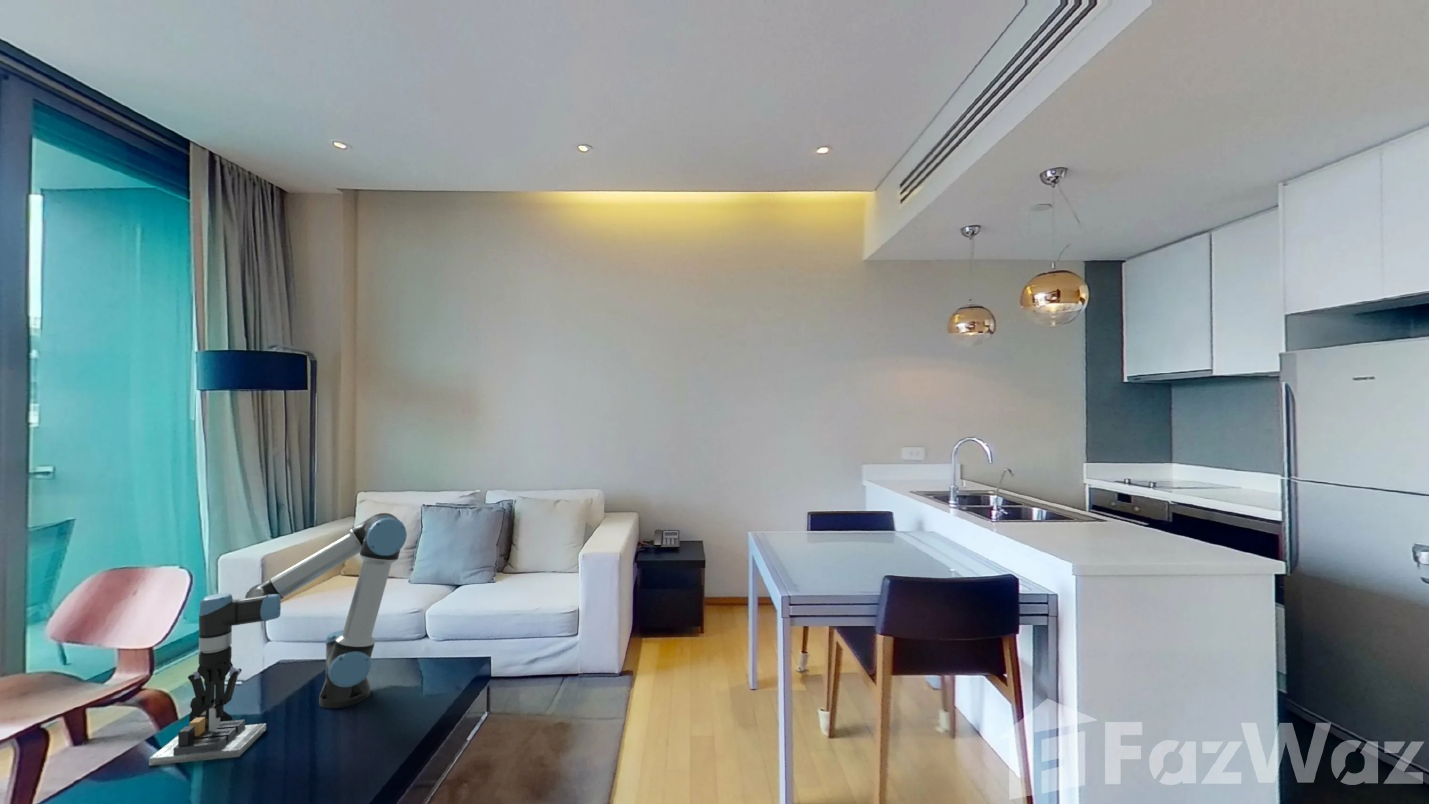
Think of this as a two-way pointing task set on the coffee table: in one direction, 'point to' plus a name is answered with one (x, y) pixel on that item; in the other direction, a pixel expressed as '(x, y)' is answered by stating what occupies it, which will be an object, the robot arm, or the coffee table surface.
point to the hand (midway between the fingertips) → (214, 728)
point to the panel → (210, 754)
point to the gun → (199, 710)
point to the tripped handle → (198, 725)
